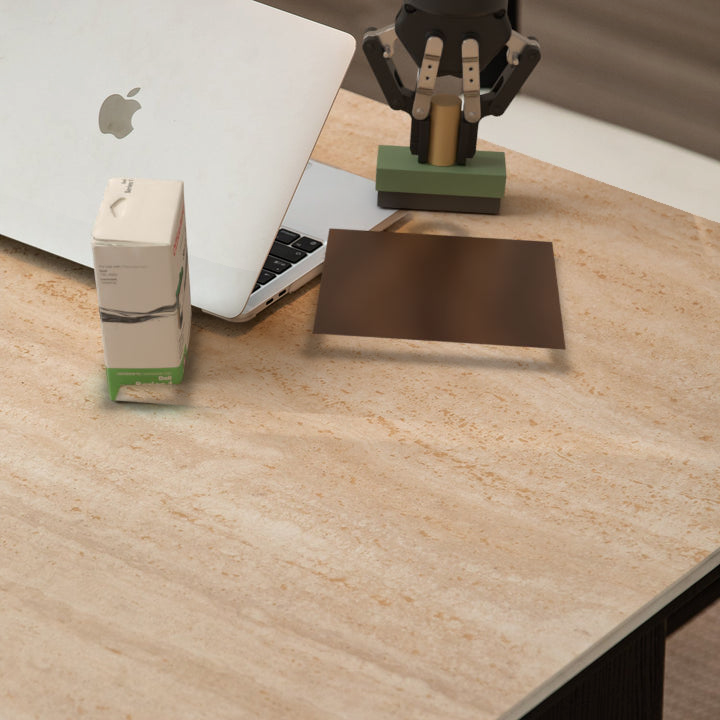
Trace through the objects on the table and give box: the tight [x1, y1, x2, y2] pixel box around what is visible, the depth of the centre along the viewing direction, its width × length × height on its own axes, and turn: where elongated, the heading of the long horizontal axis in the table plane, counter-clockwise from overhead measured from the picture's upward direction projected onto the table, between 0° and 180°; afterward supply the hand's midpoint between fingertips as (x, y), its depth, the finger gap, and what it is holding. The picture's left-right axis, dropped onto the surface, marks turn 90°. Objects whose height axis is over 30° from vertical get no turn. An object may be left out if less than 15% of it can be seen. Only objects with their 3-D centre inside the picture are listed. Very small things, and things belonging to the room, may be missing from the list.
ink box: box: [90, 176, 193, 402], centre depth 79 cm, size 9×5×12 cm, turn 1°
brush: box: [374, 93, 508, 215], centre depth 96 cm, size 10×4×8 cm, turn 87°
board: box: [312, 227, 566, 350], centre depth 89 cm, size 17×14×2 cm
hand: (442, 158), depth 97 cm, fingers closed on brush, 2 cm apart
